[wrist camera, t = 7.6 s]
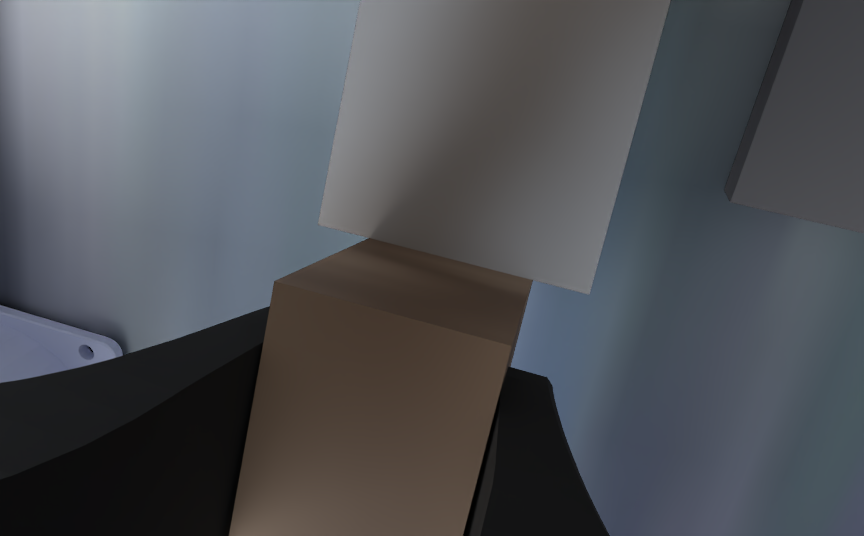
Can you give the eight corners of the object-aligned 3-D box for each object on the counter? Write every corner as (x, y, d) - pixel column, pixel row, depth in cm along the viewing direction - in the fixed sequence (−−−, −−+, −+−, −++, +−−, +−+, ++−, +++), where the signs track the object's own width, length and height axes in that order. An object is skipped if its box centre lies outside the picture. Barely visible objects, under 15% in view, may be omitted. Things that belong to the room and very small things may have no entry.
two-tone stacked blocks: (295, 408, 15) (157, 540, 10) (420, -236, 12) (316, -491, 7) (534, 480, 14) (512, 661, 9) (720, -192, 11) (828, -441, 6)
